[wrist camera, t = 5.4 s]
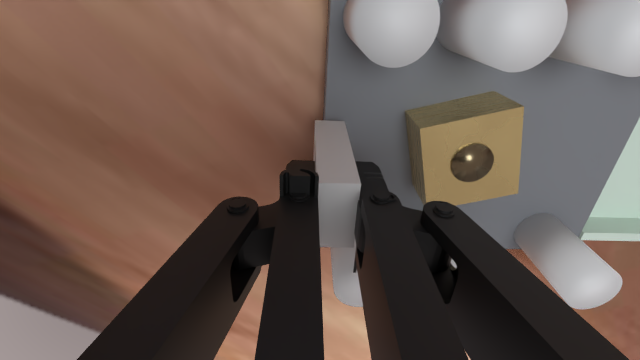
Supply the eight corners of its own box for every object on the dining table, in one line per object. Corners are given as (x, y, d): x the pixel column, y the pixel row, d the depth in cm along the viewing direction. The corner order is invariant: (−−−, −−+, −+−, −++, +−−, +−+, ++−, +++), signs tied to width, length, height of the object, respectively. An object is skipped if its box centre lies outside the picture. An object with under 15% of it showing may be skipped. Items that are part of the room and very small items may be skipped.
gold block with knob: (412, 184, 20) (427, 212, 17) (404, 110, 18) (420, 129, 15) (492, 168, 20) (519, 194, 17) (494, 90, 17) (525, 107, 15)
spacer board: (317, 227, 24) (320, 308, 18) (329, -22, 17) (340, -33, 10) (553, 231, 24) (635, 311, 18) (662, -6, 17) (857, -7, 11)
